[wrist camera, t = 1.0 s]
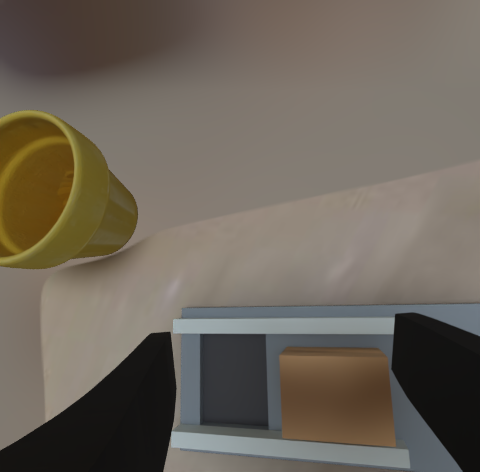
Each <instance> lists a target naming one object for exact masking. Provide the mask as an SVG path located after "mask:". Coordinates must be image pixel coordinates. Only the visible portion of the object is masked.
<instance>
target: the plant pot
mask: <svg viewBox="0 0 480 472" xmlns="http://www.w3.org/2000/svg"><path fill="white" fill-rule="evenodd" d="M137 219H138V211H137V205H136V202H135V199H134V197H133V196H132V194H131V193H130V192H129V191H128V190H127V189H126V187H124V185H123V184H122V183H121V182H120V181H119V180H118V179H117V178H116V177H115V176H114V175H113V173H112V172H111V171H110V170H109V169H108V166H107V163H106V161H105V158H104V157H103V155H102V153H101V151H100V150H99V149H98V148H97V147H96V145H95V144H94V143H93V142H91V141H90V140H89V139H88V138H87V137H85V136H84V135H83V134H82V133H80V132H79V131H77V130H76V129H74V128H73V127H72V126H70V125H69V124H67V123H66V122H64V121H63V120H61V119H60V118H58V117H56V116H54V115H52V114H49V113H47V112H43V111H38V110H24V111H18V112H14V113H11V114H9V115H6V116H4V117H2V118H0V266H3V267H10V268H22V269H46V268H51V267H55V266H57V265H60V264H62V263H65V262H66V261H68V260H70V259H76V258H85V257H95V256H104V255H109V254H112V253H114V252H116V251H118V250H119V249H120V248H122V247H123V246H124V245H125V244H126V243H127V242H128V240H129V239H130V238H131V236H132V235H133V233H134V230H135V228H136V224H137Z"/></svg>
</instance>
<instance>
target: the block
mask: <svg viewBox="0 0 480 472" xmlns="http://www.w3.org/2000/svg"><path fill="white" fill-rule="evenodd" d="M279 362H280V388H281V414H282V438H285V439H298V440H311V441H325V442H338V443H351V444H364V445H377V446H390V447H396V440H395V429H394V419H393V408H392V397H391V387H390V376H389V365H388V357H387V356H386V355H385V354H384V353H383V352H382V351H381V350H380V349H379V348H358V347H286V348H285V350H284V351H283V352H282V353H281V354H280V355H279Z"/></svg>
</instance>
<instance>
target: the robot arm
mask: <svg viewBox="0 0 480 472" xmlns="http://www.w3.org/2000/svg"><path fill="white" fill-rule="evenodd" d="M391 370H392V372H393V373H394V375H395V377H396V379H397V381H398V383H399V385H400V386H401V388H402V390H403V391H404V393H405V395H406V396H407V398H408V399H409V401H410V402H411V403H412V405H413V406H414V408H415V409H416V410H417V412H418V413H419V414H420V416H421V417H422V418H423V420H424V421H425V422H426V424H427V425H428V426H429V427H430V429H431V430H432V431H433V433H434V434H435V435H436V437H437V438H438V439H439V441H440V442H441V443H442V445H443V446H444V447H445V448H446V450H447V451H448V452H449V454H450V455H451V456H452V458H453V459H454V460H455V462H456V463H457V464H458V466H459V467H460V468H461V470H462V471H463V472H480V336H478V335H476V334H473V333H471V332H468V331H465V330H463V329H460V328H458V327H455V326H452V325H450V324H447V323H445V322H442V321H439V320H437V319H434V318H431V317H428V316H425V315H422V314H419V313H415V312H410V313H397V314H395V322H394V336H393V351H392V365H391ZM176 389H177V388H176V379H175V370H174V360H173V351H172V342H171V333H170V332H161V333H151V334H149V335H148V336H147V337H146V338H145V339H144V340H143V341H142V342H141V343H140V344H139V345H138V346H137V347H136V349H135V350H134V351H133V352H132V353H131V354H130V355H129V356H128V357H127V358H125V359H124V360H123V361H122V362H121V363H120V364H119V365H118V366H117V367H116V368H115V369H114V370H113V371H112V372H111V373H110V374H108V375H107V376H106V377H105V378H104V379H103V380H102V381H101V382H99V383H98V384H97V385H96V386H95V387H94V388H93V389H91V390H90V391H89V392H88V393H87V394H85V395H84V396H83V397H81V398H80V399H79V400H78V401H76V402H75V403H74V404H72V405H71V406H69V407H68V408H67V409H65V410H64V411H63V412H61V413H60V414H58V415H57V416H56V417H54V418H53V419H51V420H49V421H48V422H46V423H45V424H43V425H42V426H40V427H38V428H37V429H35V430H34V431H32V432H31V433H29V434H27V435H26V436H24V437H23V438H21V439H19V440H18V441H16V442H14V443H13V444H11V445H9V446H7V447H6V448H4V449H2V450H1V451H0V472H163V470H164V465H165V461H166V456H167V451H168V446H169V441H170V437H171V432H172V427H173V422H174V413H175V402H176Z"/></svg>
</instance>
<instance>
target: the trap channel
mask: <svg viewBox="0 0 480 472" xmlns="http://www.w3.org/2000/svg"><path fill="white" fill-rule="evenodd" d="M410 312H415V313H419V314H422V315H425V316H428V317H431V318H434V319H437V320H439V321H442V322H445V323H447V324H450V325H452V326H455V327H458V328H460V329H463V330H465V331H468V332H471V333H473V334H476V335H478V336H480V303H478V304H412V305H345V306H279V307H213V308H182V318H179V319H173V333H182V343H181V424H180V425H179V426H177V427H176V428H175V429H174V430H173V431H172V436H171V447H174V448H180V450H184V451H195V452H206V453H217V454H228V455H239V456H250V457H261V458H272V459H283V460H293V461H304V462H315V463H326V464H337V465H348V466H359V467H370V468H381V469H392V470H403V471H414V472H463V471H462V470H461V468H460V467H459V466H458V464H457V463H456V462H455V460H454V459H453V458H452V456H451V455H450V454H449V452H448V451H447V450H446V448H445V447H444V446H443V445H442V443H441V442H440V441H439V439H438V438H437V437H436V435H435V434H434V433H433V431H432V430H431V429H430V427H429V426H428V425H427V424H426V422H425V421H424V420H423V418H422V417H421V416H420V414H419V413H418V412H417V410H416V409H415V408H414V406H413V405H412V403H411V402H410V401H409V399H408V398H407V396H406V395H405V393H404V391H403V390H402V388H401V386H400V385H399V383H398V381H397V379H396V377H395V375H394V373H393V372H392V370H391V365H392V351H393V336H394V322H395V314H397V313H410ZM286 347H358V348H379V349H380V350H381V351H382V352H383V353H384V354H385V355H386V356H387V357H388V365H389V376H390V387H391V397H392V408H393V419H394V429H395V440H396V447H390V446H377V445H364V444H351V443H338V442H325V441H311V440H298V439H285V438H282V414H281V388H280V362H279V355H280V354H281V353H282V352H283V351H284V350H285V348H286Z"/></svg>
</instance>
